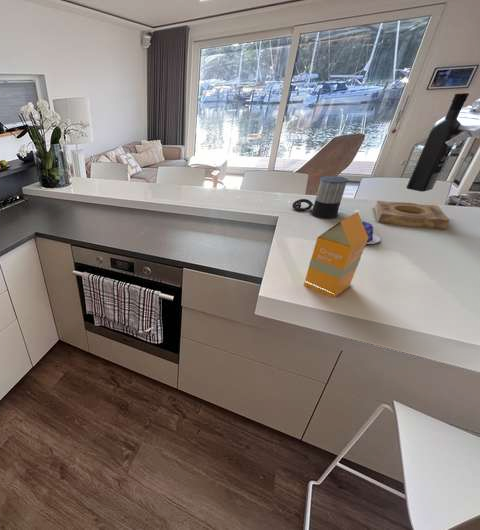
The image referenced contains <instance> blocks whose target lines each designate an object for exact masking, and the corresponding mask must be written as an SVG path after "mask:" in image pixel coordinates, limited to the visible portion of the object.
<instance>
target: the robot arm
mask: <svg viewBox="0 0 480 530" xmlns="http://www.w3.org/2000/svg"><path fill="white" fill-rule="evenodd" d="M445 117H446V115H445V116H443V117H442V118H439V119H438V120H437V121H436V122H434V124H433V125H434V126H435V125H436V124H437V123H439V122H441V121H442V120H444V119H445ZM457 120H458V121H459V122H460V123H461V124H460V126H459V127H458V130H460V132H459V134H458V136H456V137H453V138H449V139H448V140H446V141H445V142H444V144H445V145H446V146H452V145H453V144H454V145H455V144H456V143H459V142H462V141H464V140H467V139H468V138H475V139H478V140H479V139H480V97H479V98H478V99H476V100H475V101H474V102H473V103H472V105H467V106H465V107H462V109H461V111H460V113H459V115H458V118H457ZM434 126H433V127H434ZM454 145H453V146H454Z"/></svg>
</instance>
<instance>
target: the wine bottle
mask: <svg viewBox="0 0 480 530" xmlns="http://www.w3.org/2000/svg"><path fill="white" fill-rule="evenodd" d="M469 95H470V93H468V92H463V93H462V92H461V93H455V94H454V95H453V98H452V100H451V104H450V106H449V108H448V111H447V112H446V115H445V116H446V117H445V116H444V117H445V119H444V120H442V121H441V122H439V123H437V124H436V125H435V124H434V125H435V126H433V127H432V128H431V130H430V132H429V134H428V136H427V139H426V141H425V143H424V145H423V148H422V150H421V152H420V155H419V157H418V159H417V162H416V164H415V167H414V169H413V171H412V173H411V174H410V175H411V176H410V177H409V180H408V183H407V185H406V189H407V190H411V191H416V192H421V193H423V192H427V191H430V190H433V188H434V187H435V185H436V183H437V180H438V178H439V176H440V175H441V172H442V170H443V167H444V166H445V164H446V162H447V160H448V156H449V155H450V153H451V151H452V149H453V147H454V145H455V144H453V145H452V146H446V145H445V144H444V142H445V141H446V140H448V139H449V138H453V137H456V136H458V134H459V132H460V130H458V127H459V126H460V124H461V123H460V122H459V121H458V120H457V118H458V115H459V113H460V111H461V109H462V107H463V106H464V104H465V102H466V101H467V99H468V97H469Z"/></svg>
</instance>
